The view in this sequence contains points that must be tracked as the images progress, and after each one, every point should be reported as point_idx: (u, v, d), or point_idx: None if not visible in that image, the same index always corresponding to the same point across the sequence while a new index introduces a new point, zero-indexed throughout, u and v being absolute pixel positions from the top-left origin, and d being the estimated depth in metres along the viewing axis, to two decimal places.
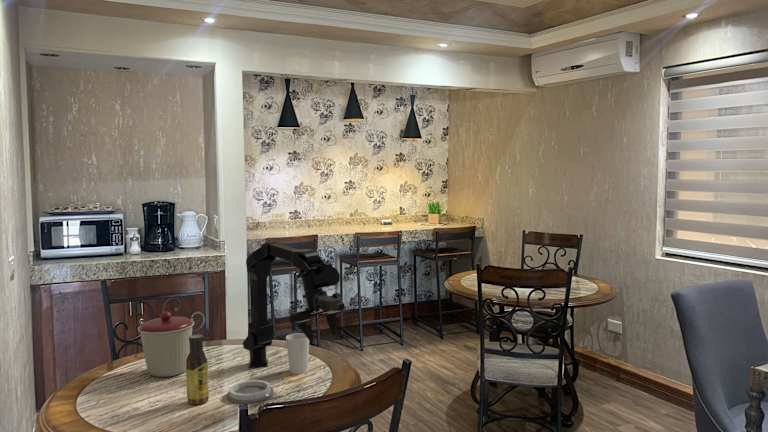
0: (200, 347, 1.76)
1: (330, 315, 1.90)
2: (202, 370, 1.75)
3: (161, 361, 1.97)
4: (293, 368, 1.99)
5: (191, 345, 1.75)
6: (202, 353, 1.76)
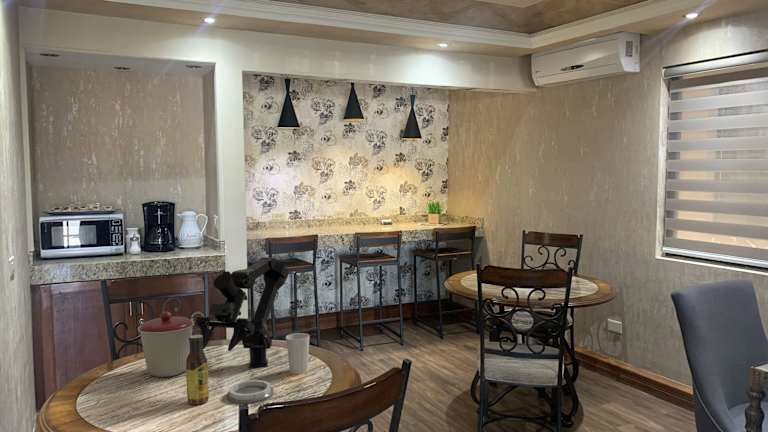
0: (200, 347, 1.76)
1: None
2: (202, 370, 1.75)
3: (161, 361, 1.97)
4: (293, 368, 1.99)
5: (191, 345, 1.75)
6: (202, 353, 1.76)
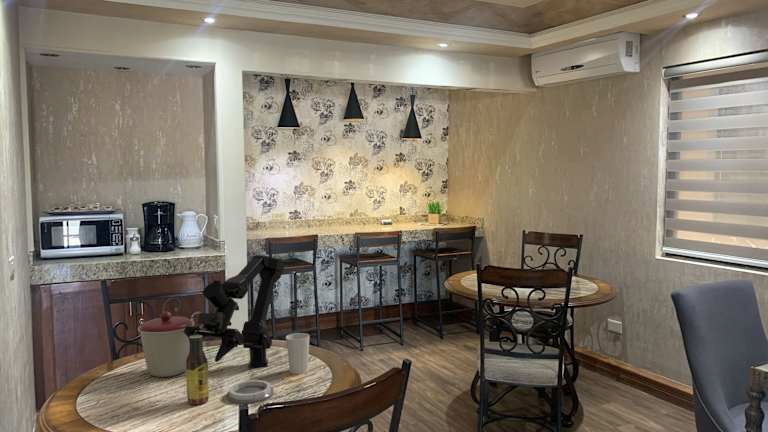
0: (200, 347, 1.76)
1: None
2: (202, 370, 1.75)
3: (161, 361, 1.97)
4: (293, 368, 1.99)
5: (191, 345, 1.75)
6: (202, 353, 1.76)
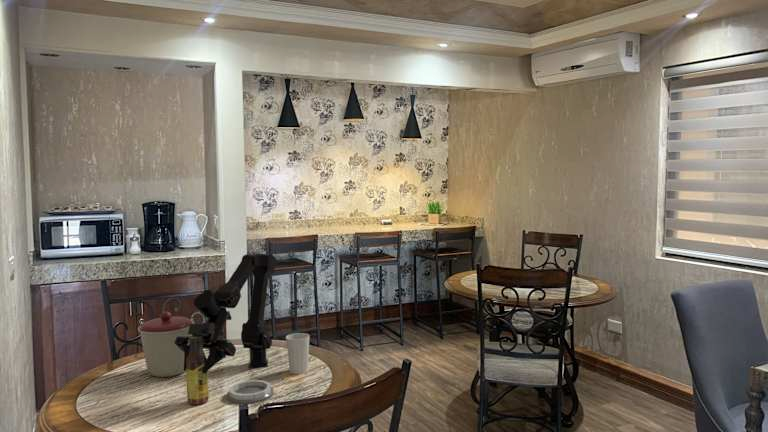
0: (200, 347, 1.76)
1: None
2: (202, 370, 1.75)
3: (161, 361, 1.97)
4: (293, 368, 1.99)
5: (191, 345, 1.75)
6: (202, 353, 1.76)
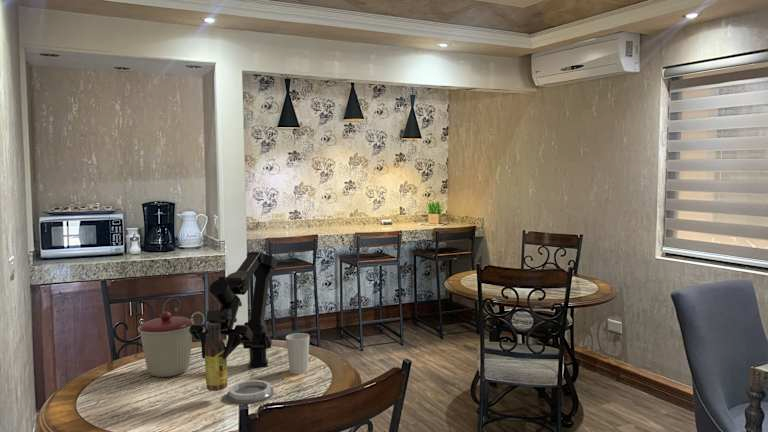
0: (219, 333, 1.77)
1: None
2: (222, 356, 1.76)
3: (161, 361, 1.97)
4: (293, 368, 1.99)
5: (210, 332, 1.76)
6: (221, 339, 1.77)
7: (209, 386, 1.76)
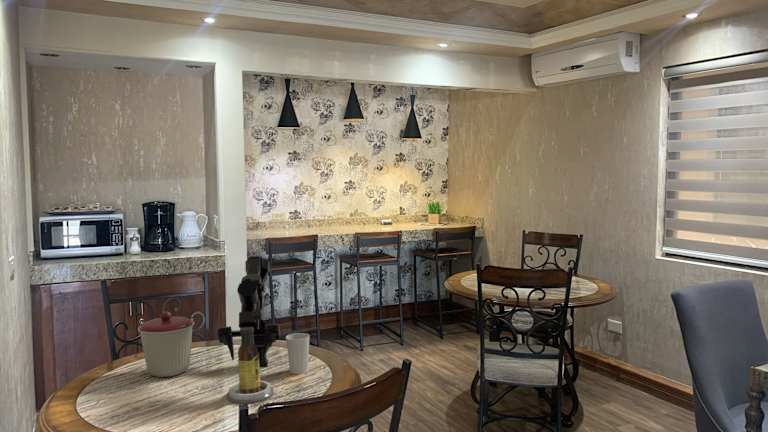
0: (253, 338, 1.81)
1: None
2: (257, 359, 1.81)
3: (161, 361, 1.97)
4: (293, 368, 1.99)
5: (245, 337, 1.80)
6: (254, 343, 1.82)
7: (245, 390, 1.79)
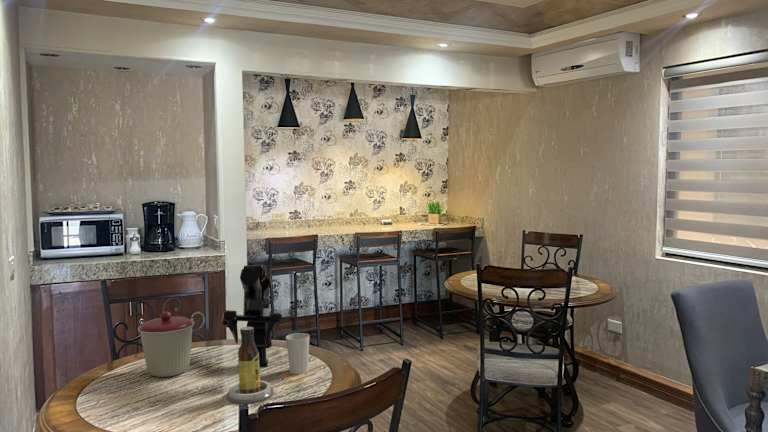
0: (253, 338, 1.81)
1: (267, 325, 1.95)
2: (257, 360, 1.81)
3: (161, 361, 1.97)
4: (293, 368, 1.99)
5: (245, 337, 1.79)
6: None
7: (245, 390, 1.79)
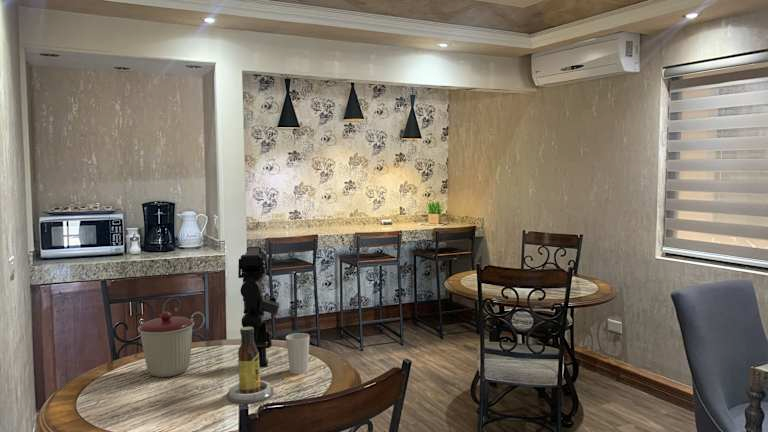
0: (253, 338, 1.81)
1: None
2: (257, 360, 1.81)
3: (161, 361, 1.97)
4: (293, 368, 1.99)
5: (245, 337, 1.79)
6: None
7: (245, 390, 1.79)
